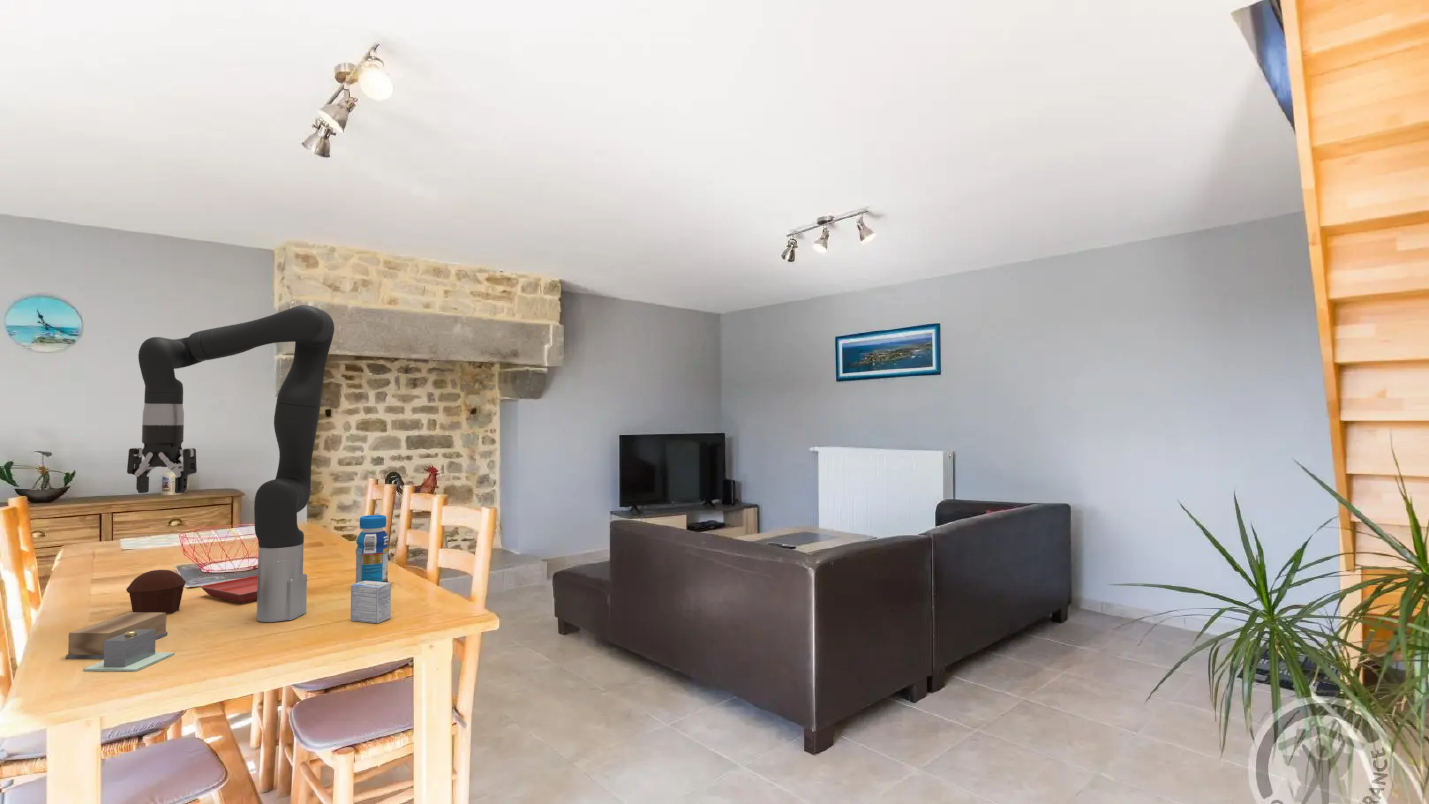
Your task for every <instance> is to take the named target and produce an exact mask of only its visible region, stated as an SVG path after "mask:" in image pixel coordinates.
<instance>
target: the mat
mask: <svg viewBox="0 0 1429 804" xmlns="http://www.w3.org/2000/svg"><path fill="white" fill-rule="evenodd" d="M174 655H175V652H168V651H167V652H160V651H158V652H156V651H155V654H154V655H152V656H150V657H148V658H145V659H143V660H141V661H138V662H136V663H134V664H131V665H129V666H127V667H104V660H101V661H99V662H97V663H95V664H92V665H90V666H86V667H84V668H83V669H82V671H83V672H138V671H141V670H143V669H145V668H147V667H149V666H152V665H154V664H157V663H159V662H161V661H164V660H165V659H168V658H170V657H172V656H174Z"/></svg>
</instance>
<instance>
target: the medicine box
mask: <svg viewBox="0 0 1429 804" xmlns="http://www.w3.org/2000/svg"><path fill="white" fill-rule="evenodd" d="M391 602H392V583H391V582H388V583H386V582H376V581H362V582H358V583H356V582H355V583H353V584H351V585H350V621H351V622H352V621H353V622H362V623H369V624H370V623H371V624H372V623H373V624H380V623H383V622H385V621H387V620H389V619H390V620H391V617H392V613H391V612H392V610H391V609H392V603H391Z"/></svg>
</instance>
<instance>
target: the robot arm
mask: <svg viewBox="0 0 1429 804" xmlns="http://www.w3.org/2000/svg"><path fill="white" fill-rule="evenodd" d="M334 333H335V323H334V320H333V318H332V317H331V315H330V314H329V313H327V312H326V311H324V310H323V309H321V308H318V307H314V306H312V305H308V304H299V305H296V306H293V307H290V308H287V309H285V310H282V311H280V312H277V313H274V314H271V315H268V316H264V317H261V318H258V319H253V320H250V321H246V322H241V323H235V324H229V325H223V326H220V327H219V326H218V327H214V328H209V329H204V330H200V331H199V330H198V331H195V332H193V333H191V334H189V336H187V337H183V338H176V339H175V338H174V339H173V338H172V339H171V338H166V337H162V336H161V337H160V336H154V337H149V338H147V339H145V340H144V341H143V342H142V343H141V345H140V347H139V349H138V354H137V355H138V365H139V368H140V372H141V377H142V380H143V383H144V405H143V410H142V419H141V420H142V425H141V426H142V427H141V442H142V444H143V448H142V447H133V448H132V447H131V448H129V449H128V457H127V467H126V474H128V475H132V476H133V475H134V476H135V477H136V486H135V487H136V491H137V493H138V494H147V493H149V490H150V476H149V475H150V473H151V472H152V470H154V469H156V468H157V467H161V468H167V469H169V470H170V471H172V472H173V474H174V475H175V477H174V493H175V494H183V493H185V492H186V490H187V489H188V476H190V475H194V474H197V469H198V468H197V449H196V448H195V447H193V448H192V447H191V448H190V447H189V448H184V449H183V448H182V444H183V442H184V429H185V428H184V427H185V426H184V425H185V412H184V404H183V403H184V385H183V382H182V381H180V380H179V379H177V377H176V374H175V370H176V369H183V368H187V367H190V366H194V365H196V364H199V363H202V362H205V361H210V360H211V361H212V360H217V359H221V358H225V357H231V356H235V355H239V354H241V353H244V352H248V351H251V350H253V349H255V348H258V347H262V346H267V345H271V344H277V343H289V342H290V343H292V342H294V354H293V360H292V363H291V366H290V368H289V371H288V373H287V375H286V377H285V379H284V380H283V382H282V384H281V387H280V388H279V391H278V394H277V399H276V404H275V409H274V417H273V426H274V428H273V429H274V433H275V434H274V435H275V438H276V441H277V446H278V452H279V455H278V456H279V457H278V466H277V472H276V475H275V479H270V480H268V481H266V482H264V483H263V484H261V485H260V486H259V488H258V489H257V490H256V493H255V496H254V503H253V504H254V505H253V506H254V507H253V511H254V515H253V516H254V518H253V521H254V534H255V536H256V538H257V543H258V545H257V546H258V548H257V549H258V550H257V552H258V553H257V575H258V580H257V600H256V621H258V622H262V623H275V622H283V621H292V620H294V619H296V618H299V617H300V616H303V615H304V614H307V598H308V597H307V593H308V592H307V591H308V588H307V587H308V583H307V582H308V581H307V580H308V574H306V573H304V549H305V548H304V547H305V546H304V545H305V543H304V542H305V534H304V532H303V530H301V529H300V528H299V526H298V513H299V512H301V511H302V510H303V509H304V508H306V506H307V505H308V503H309V502H310V498H311V488H312V487H311V486H312V485H311V484H312V461H313V460H312V459H313V453H314V448H315V442H316V435H317V429H318V423H319V419H320V411H321V406H322V405H321V404H322V395H323V388H324V381H325V379H324V378H325V370H326V364H327V359H328V355H329V352H330V349H331V346H332V342H333V341H332V340H333V338H334ZM143 457H144V459H143ZM181 458H182V459H181Z"/></svg>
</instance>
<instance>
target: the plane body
mask: <svg viewBox="0 0 1429 804" xmlns="http://www.w3.org/2000/svg"><path fill="white" fill-rule="evenodd" d="M134 629H156V640H155V641H157V640H159V639H161V638H164V637H166V636H168V631H167V615H166V613H155V612H130V611H129V612H127V613H123V614H120V615H117V616H114V617H111V618H109V619H106V620H103V621H100V622H97V623H94V624H92V625H87V626H85V627H82V628H79V629H75V630H73V631H71V632H68V644H67V647H68V648H67V649H68V650H67V651H68V653H67V654H66V655H65V659H66V660H69V659H70V660H74V659H75V660H80V659H82V660H87V659H88V660H102V659H103V660H104V641H105V640H108V639H110V638H113V637H116V636H118V635H121V634H124V633H125V632H127V631H131V630H134Z"/></svg>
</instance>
